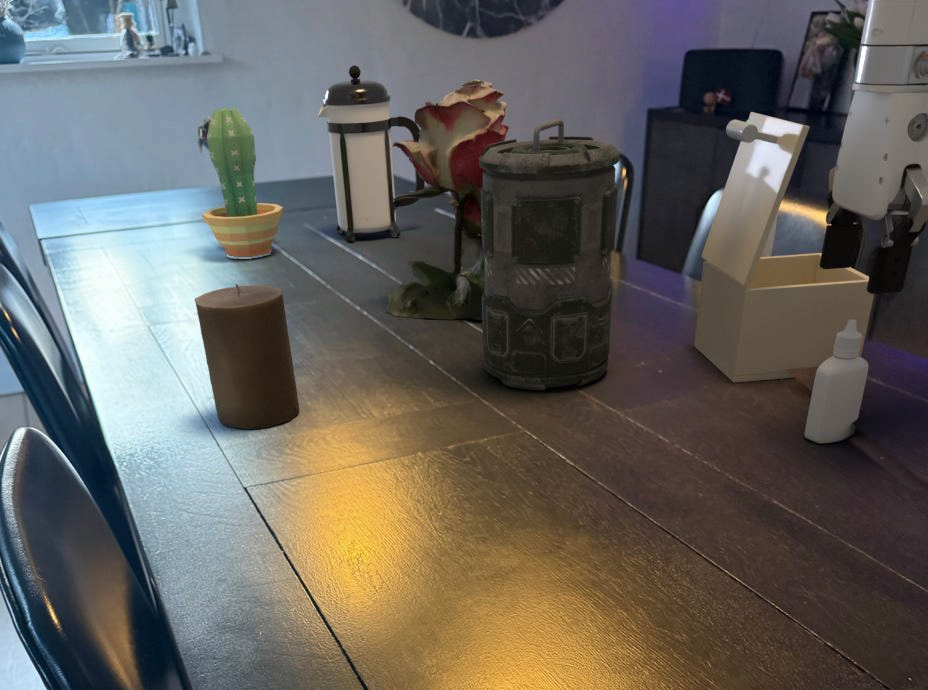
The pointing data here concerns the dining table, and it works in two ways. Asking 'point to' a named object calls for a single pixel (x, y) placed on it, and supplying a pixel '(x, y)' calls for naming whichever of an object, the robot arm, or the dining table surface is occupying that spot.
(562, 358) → the canister
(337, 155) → the coffee press
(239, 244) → the potted cactus
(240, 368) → the pillar candle
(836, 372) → the eye dropper bottle
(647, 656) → the dining table surface
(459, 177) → the red and cream rose
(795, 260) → the beige open box
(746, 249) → the lid
